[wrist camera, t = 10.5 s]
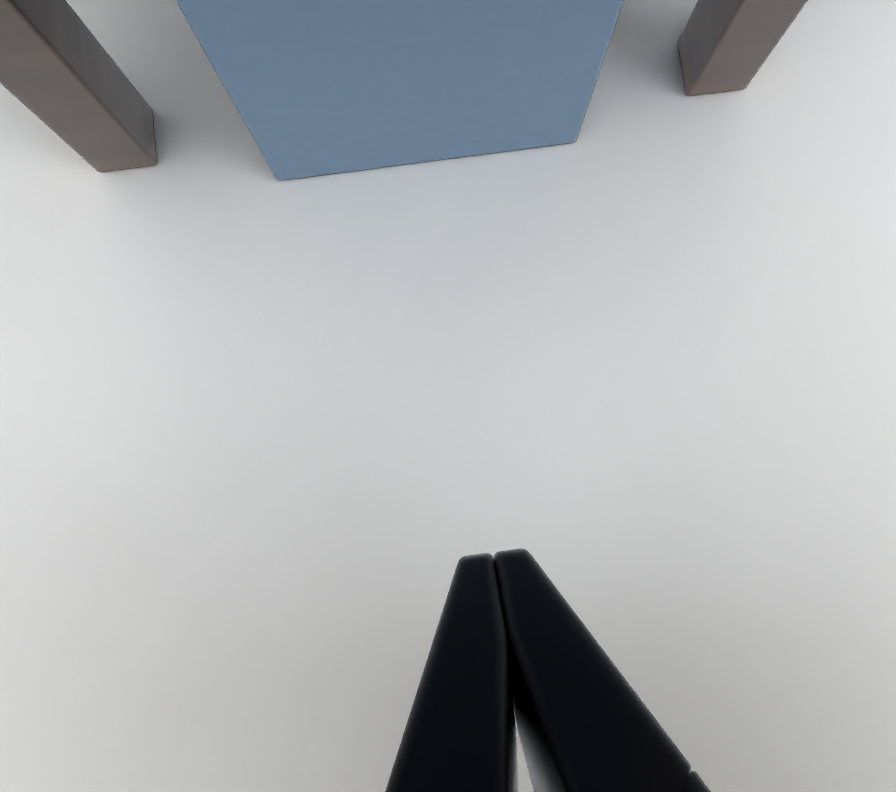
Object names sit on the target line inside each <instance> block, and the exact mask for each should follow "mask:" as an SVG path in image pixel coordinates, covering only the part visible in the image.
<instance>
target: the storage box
mask: <svg viewBox="0 0 896 792" xmlns="http://www.w3.org/2000/svg"><path fill="white" fill-rule="evenodd" d="M623 1H624V0H176V2H177V3H178V5H179V7H180V9H181V10H182V12H183V14H184V16H185V18H186V19H187V21H188V23H189V25H190V26H191V28H192V30H193V32H194V34H195V35H196V37H197V39H198V41H199V42H200V44H201V46H202V48H203V49H204V51H205V53H206V55H207V57H208V58H209V60H210V62H211V64H212V65H213V67H214V69H215V71H216V73H217V74H218V76H219V78H220V80H221V81H222V83H223V85H224V87H225V88H226V90H227V92H228V94H229V96H230V97H231V99H232V101H233V103H234V104H235V106H236V108H237V110H238V112H239V113H240V115H241V117H242V119H243V120H244V122H245V124H246V126H247V127H248V129H249V131H250V133H251V135H252V136H253V138H254V140H255V142H256V143H257V145H258V147H259V149H260V151H261V152H262V154H263V156H264V158H265V159H266V161H267V163H268V165H269V167H270V168H271V170H272V172H273V174H274V175H275V177H276V179H277V180H287V179H295V178H303V177H310V176H318V175H326V174H334V173H341V172H349V171H357V170H365V169H372V168H380V167H388V166H395V165H403V164H411V163H419V162H426V161H434V160H442V159H450V158H457V157H465V156H473V155H480V154H488V153H496V152H504V151H511V150H519V149H527V148H535V147H542V146H550V145H558V144H565V143H573V142H575V141H576V139H577V136H578V134H579V131H580V128H581V125H582V122H583V119H584V116H585V113H586V110H587V107H588V104H589V101H590V98H591V95H592V92H593V89H594V86H595V83H596V81H597V78H598V75H599V72H600V69H601V66H602V63H603V60H604V57H605V54H606V51H607V48H608V45H609V42H610V39H611V36H612V33H613V31H614V28H615V25H616V22H617V19H618V16H619V13H620V10H621V7H622V4H623Z"/></svg>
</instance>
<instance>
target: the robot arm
mask: <svg viewBox="0 0 896 792" xmlns="http://www.w3.org/2000/svg"><path fill="white" fill-rule="evenodd" d="M514 712H515V715H514ZM515 718H516V723H517V729H518V733H519V737H520V741H521V745H522V749H523V752H524V756H525V760H526V763H527V767H528V771H529V774H530V778H531V781H532V785H533V789H534V792H711V791H710V790H709V788H708V787H707V786H706V785H705V783H704V782H703V781H702V779H701V778H700V777H699V775H698V774H697V773H696V772H694V771H692V772H690V771H691V765H690V764H689V763H688V761H687V760H686V759H685V757H684V756H683V755H682V753H681V752H680V751H679V749H678V748H677V747H676V745H675V744H674V743H673V742H672V740H671V739H670V738H669V736H668V735H667V734H666V732H665V731H664V730H663V728H662V727H661V726H660V724H659V723H658V722H657V720H656V719H655V718H654V716H653V715H652V714H651V712H650V711H649V710H648V709H647V707H646V706H645V705H644V703H643V702H642V701H641V699H640V698H639V697H638V695H637V694H636V693H635V691H634V690H633V689H632V687H631V686H630V685H629V683H628V682H627V681H626V679H625V678H624V677H623V676H622V674H621V673H620V672H619V670H618V669H617V668H616V666H615V665H614V664H613V662H612V661H611V660H610V658H609V657H608V656H607V654H606V653H605V652H604V650H603V649H602V648H601V646H600V645H599V644H598V643H597V641H596V640H595V639H594V637H593V636H592V635H591V633H590V632H589V631H588V629H587V628H586V627H585V625H584V624H583V623H582V621H581V620H580V619H579V617H578V616H577V615H576V613H575V612H574V611H573V610H572V608H571V607H570V606H569V604H568V603H567V602H566V600H565V599H564V598H563V596H562V595H561V594H560V592H559V591H558V590H557V588H556V587H555V586H554V584H553V583H552V582H551V580H550V579H549V578H548V577H547V575H546V574H545V573H544V571H543V570H542V569H541V567H540V566H539V565H538V563H537V562H536V561H535V559H534V558H533V557H532V555H531V554H530V553H529V552H528V551H527V550H525V549H515V550H507V551H500V552H497V553H496V554H495V555H494V559H493V556H492V555H491V554H488V553H485V554H477V555H469V556H464V557H462V558H461V559H460V560H459V562H458V564H457V567H456V570H455V573H454V577H453V580H452V583H451V586H450V589H449V592H448V595H447V599H446V602H445V605H444V608H443V611H442V614H441V618H440V621H439V624H438V627H437V630H436V633H435V636H434V640H433V643H432V646H431V649H430V652H429V655H428V659H427V662H426V665H425V668H424V671H423V674H422V677H421V681H420V684H419V687H418V690H417V693H416V696H415V700H414V703H413V706H412V709H411V712H410V715H409V718H408V722H407V725H406V728H405V731H404V734H403V737H402V740H401V744H400V747H399V750H398V753H397V756H396V759H395V763H394V766H393V769H392V772H391V775H390V778H389V781H388V785H387V788H386V791H385V792H518V774H517V743H516V726H515Z"/></svg>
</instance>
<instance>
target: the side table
mask: <svg viewBox="0 0 896 792" xmlns="http://www.w3.org/2000/svg"><path fill="white" fill-rule="evenodd" d="M807 1H808V0H698V2H697V4H696V6H695V8H694V10H693V12H692V14H691V16H690V18H689V20H688V22H687V24H686V26H685V28H684V30H683V32H682V34H681V36H680V38H679V40H678V48H679V53H680V59H681V64H682V70H683V76H684V81H685V87H686V93H687V95H688V96H693V95H701V94H709V93H717V92H724V91H732V90H740V89H744V88H746V87H747V85H748V84H749V82H750V81H751V80H752V78H753V77H754V75H755V74H756V73H757V71H758V70H759V68H760V67H761V65H762V64H763V63H764V61H765V60H766V58H767V57H768V56H769V54H770V53H771V51H772V50H773V49H774V47H775V46H776V44H777V43H778V42H779V40H780V39H781V37H782V36H783V35H784V33H785V32H786V30H787V29H788V28H789V26H790V25H791V23H792V22H793V21H794V19H795V18H796V16H797V15H798V14H799V12H800V11H801V9H802V8H803V6H804V5H805V4H806V2H807ZM0 83H1V84H2V85H3V86H4V87H5V88H6V89H7V90H9V91H10V92H11V93H12V94H13V95H14V96H15V97H16V98H17V99H19V100H20V101H21V102H22V103H23V104H24V105H25V106H26V107H27V108H28V109H30V110H31V111H32V112H33V113H34V114H35V115H36V116H37V117H38V118H40V119H41V120H42V121H43V122H44V123H45V124H46V125H47V126H48V127H50V128H51V129H52V130H53V131H54V132H55V133H56V134H57V135H58V136H59V137H61V138H62V139H63V140H64V141H65V142H66V143H67V144H68V145H69V146H71V147H72V148H73V149H74V150H75V151H76V152H77V153H78V154H79V155H80V156H82V157H83V158H84V159H85V160H86V161H87V162H88V163H89V164H90V165H92V166H93V167H94V168H95V169H96V170H97V171H99V172H104V171H112V170H120V169H127V168H135V167H143V166H151V165H156V164H157V157H156V146H155V135H154V124H153V113H152V109H151V108H150V106H149V105H148V104H147V103H146V101H145V100H144V99H143V98H142V96H141V95H140V94H139V93H138V91H137V90H136V89H135V87H134V86H133V85H132V84H131V82H130V81H129V80H128V79H127V77H126V76H125V75H124V74H123V72H122V71H121V70H120V68H119V67H118V66H117V65H116V63H115V62H114V61H113V60H112V58H111V57H110V56H109V55H108V53H107V52H106V51H105V49H104V48H103V47H102V46H101V44H100V43H99V42H98V41H97V39H96V38H95V37H94V35H93V34H92V33H91V32H90V30H89V29H88V28H87V27H86V25H85V24H84V23H83V22H82V20H81V19H80V18H79V16H78V15H77V14H76V13H75V11H74V10H73V9H72V8H71V6H70V5H69V4H68V3H67V1H66V0H0Z"/></svg>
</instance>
